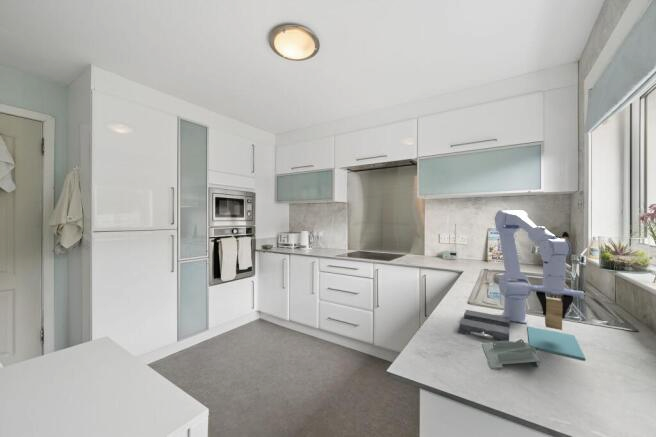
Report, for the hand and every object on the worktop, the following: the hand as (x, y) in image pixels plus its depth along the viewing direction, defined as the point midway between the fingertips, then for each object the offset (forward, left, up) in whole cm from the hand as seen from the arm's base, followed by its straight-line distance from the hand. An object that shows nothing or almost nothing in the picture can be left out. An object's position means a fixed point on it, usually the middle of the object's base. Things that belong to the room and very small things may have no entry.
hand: (553, 316), depth 90 cm
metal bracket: (+21, -12, -9) cm, 26 cm away
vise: (0, -20, -9) cm, 21 cm away
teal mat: (0, 0, -9) cm, 9 cm away
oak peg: (0, 0, -3) cm, 3 cm away
